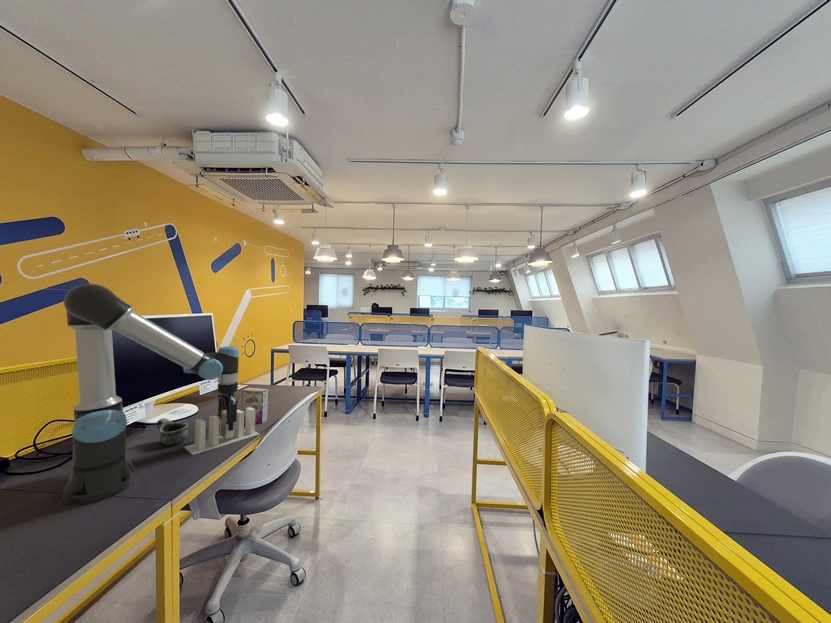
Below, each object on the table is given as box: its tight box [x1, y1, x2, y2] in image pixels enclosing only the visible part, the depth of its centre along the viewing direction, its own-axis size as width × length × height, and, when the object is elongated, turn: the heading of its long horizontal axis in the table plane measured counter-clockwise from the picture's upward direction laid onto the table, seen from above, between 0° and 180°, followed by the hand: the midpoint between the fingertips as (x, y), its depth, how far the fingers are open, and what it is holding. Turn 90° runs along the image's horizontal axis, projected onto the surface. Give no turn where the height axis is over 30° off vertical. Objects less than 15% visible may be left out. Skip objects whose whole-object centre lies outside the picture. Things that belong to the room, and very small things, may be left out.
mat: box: [183, 428, 260, 456], centre depth 133 cm, size 26×10×1 cm, turn 144°
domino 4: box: [244, 407, 256, 434], centre depth 142 cm, size 2×5×11 cm, turn 54°
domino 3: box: [233, 409, 245, 438], centre depth 138 cm, size 2×5×11 cm, turn 54°
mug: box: [156, 417, 189, 446], centre depth 129 cm, size 10×12×10 cm
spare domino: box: [220, 410, 227, 439], centre depth 133 cm, size 2×5×11 cm, turn 54°
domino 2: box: [207, 414, 220, 446], centre depth 130 cm, size 2×5×11 cm, turn 54°
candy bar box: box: [241, 387, 269, 424], centre depth 155 cm, size 11×5×16 cm, turn 84°
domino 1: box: [194, 418, 207, 450], centre depth 126 cm, size 2×5×11 cm, turn 54°
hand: (226, 435), depth 134 cm, fingers closed on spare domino, 5 cm apart
